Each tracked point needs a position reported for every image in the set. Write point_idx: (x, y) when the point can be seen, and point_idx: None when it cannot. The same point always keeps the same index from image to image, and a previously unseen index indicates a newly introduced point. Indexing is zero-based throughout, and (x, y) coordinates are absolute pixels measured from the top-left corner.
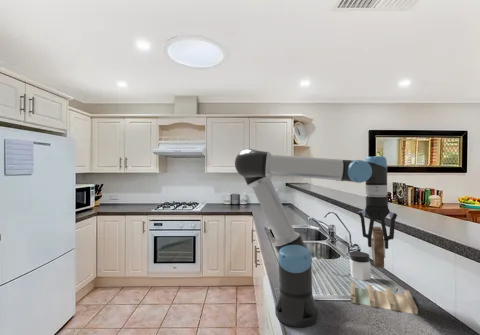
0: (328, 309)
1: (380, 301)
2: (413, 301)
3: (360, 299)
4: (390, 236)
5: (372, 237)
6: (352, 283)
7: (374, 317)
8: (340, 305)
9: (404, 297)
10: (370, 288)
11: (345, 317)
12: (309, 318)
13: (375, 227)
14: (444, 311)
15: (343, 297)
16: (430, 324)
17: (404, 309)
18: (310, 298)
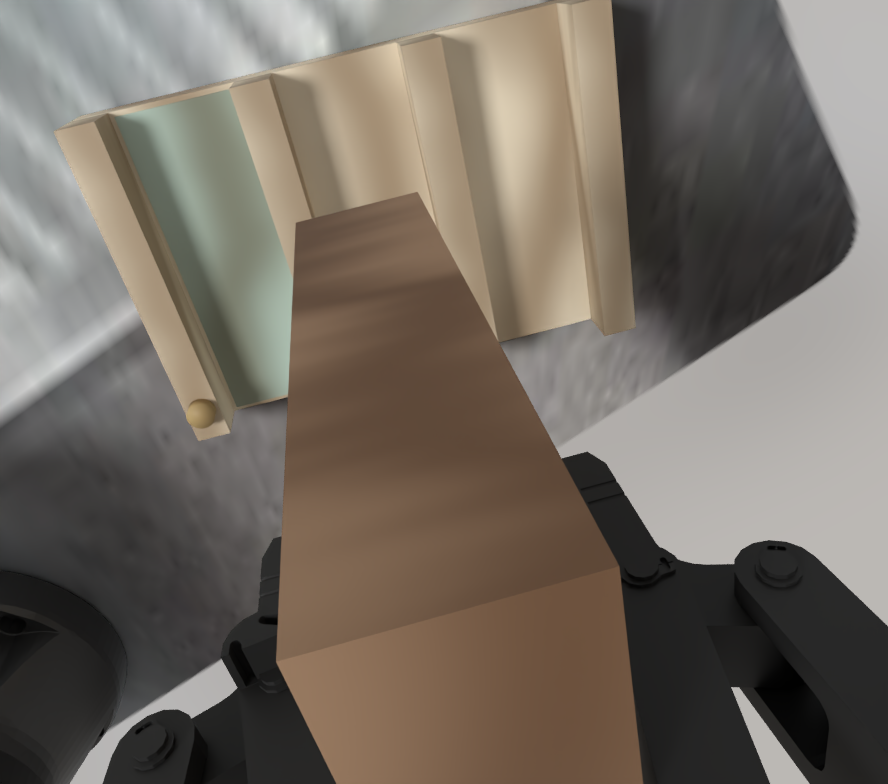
0: (102, 517)
1: None
2: (622, 231)
3: (245, 337)
4: (763, 708)
5: (291, 405)
6: (84, 160)
7: None
8: (139, 429)
9: (552, 71)
10: (279, 179)
11: (231, 532)
12: (108, 728)
13: (445, 764)
14: (797, 72)
15: (95, 302)
16: (667, 323)
17: (545, 295)
18: (57, 782)
